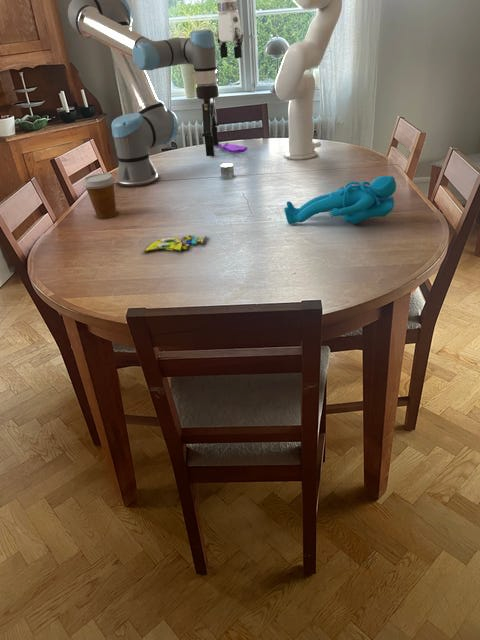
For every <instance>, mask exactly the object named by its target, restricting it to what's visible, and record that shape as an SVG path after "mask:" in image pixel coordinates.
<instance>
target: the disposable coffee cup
mask: <svg viewBox="0 0 480 640" xmlns="http://www.w3.org/2000/svg"><path fill="white" fill-rule="evenodd" d="M114 183H115V178H114V177H113V175H112V174H111V173H107V172H106V173H96V174H91V175H87V176H85V177H84V179H83V186H84V187H85V189H86V192H87V195H88V197H89V199H90V202H91V204H92V207H93V209H94V212H95V215H96V217H97V218H100V219H106V218H111V217H113V216H115V215H117V203H116V195H115V193H116V192H115V184H114Z"/></svg>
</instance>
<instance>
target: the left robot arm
mask: <svg viewBox="0 0 480 640" xmlns="http://www.w3.org/2000/svg"><path fill="white" fill-rule="evenodd" d="M132 16H133V13H132V10H131V7H130V4H129V3H128V1H127V0H71V1H70V3H69V5H68V9H67V17H68V21H69V24H70V25H71V28H73V30H74V31H75V32H76V33H78V34H79V35H81V36H82V37H85V38H86V39H95V40H97V41H99V42H100V43H102V44H104V45H106V46H108V47H109V49H110V51H111V53H112V56H113V58H114V60H115V62H116V65H117V67H118V69H119V71H120V74H121V76H122V78H123V80H124V83H125V85H126V87H127V90H128V92H129V94H130V96H131V98H132V101H133V103H134V105H135V107H136V112H131V113H130V112H129V113H128V114H122V115H120V116H117V117H115V118H114V119H113V120H112V122H111V135H112V138H113V141H114V146H115V151H116V156H117V160H118V167H117V168H118V170H117V183H118V186H120V187H123V188H124V187H125V188H136V187H137V188H138V187H145V186H147V185H148V186H149V185H151V184H154V183H156V182H157V181H158V180H159V176H158V172H157V169H156V167H155V166H154V163H153V161H152V159H151V156H150V151H149V149H152V148H156V147H159V146H162V145H167V144H169V143H171V142H173V141H175V139H176V138H177V137H178V133H179V121H178V118H177V115H176V113H175V112H174V111H172V110H171V109H168V108H166V105H165V103H164V102H163V101H161V100H159V99H158V97H157V95H156V93H155V90H154V87H153V85H152V83H151V81H150V78H149V76H148V74H147V71H154V70H157V69H164V68H168V67H175V66H180V65H192V66H193V77H194V84H195V85H196V86H195V95H196V98H197V99H199V100H203V103H202V104H201V109H202V134H201V137H202V138H204V145H205V153H206V154H205V156H206V157H215V153H214V151H215V147H219V144H220V142H219V132H218V127H219V126H220V122H218V115H217V111H216V110H217V109H216V102H215V99H216V98H218V97H219V96H220V90H219V85H218V84H217V83H218V82H219V81H218V80H219V79H218V77H219V76H220V73H219V72H217V71H218V70H217V69H218V67H217V55H216V54H217V53H216V52H217V51H216V40H215V34H214V31H213V30H212V29H197V30H192V31H190V34H189V37H171V38H168V39H161V40H151V39H150V38H148V37H146V36H143V34H140V33H138V32H136V31H134V30H132V25H133V24H132V23H133V18H132Z"/></svg>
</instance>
